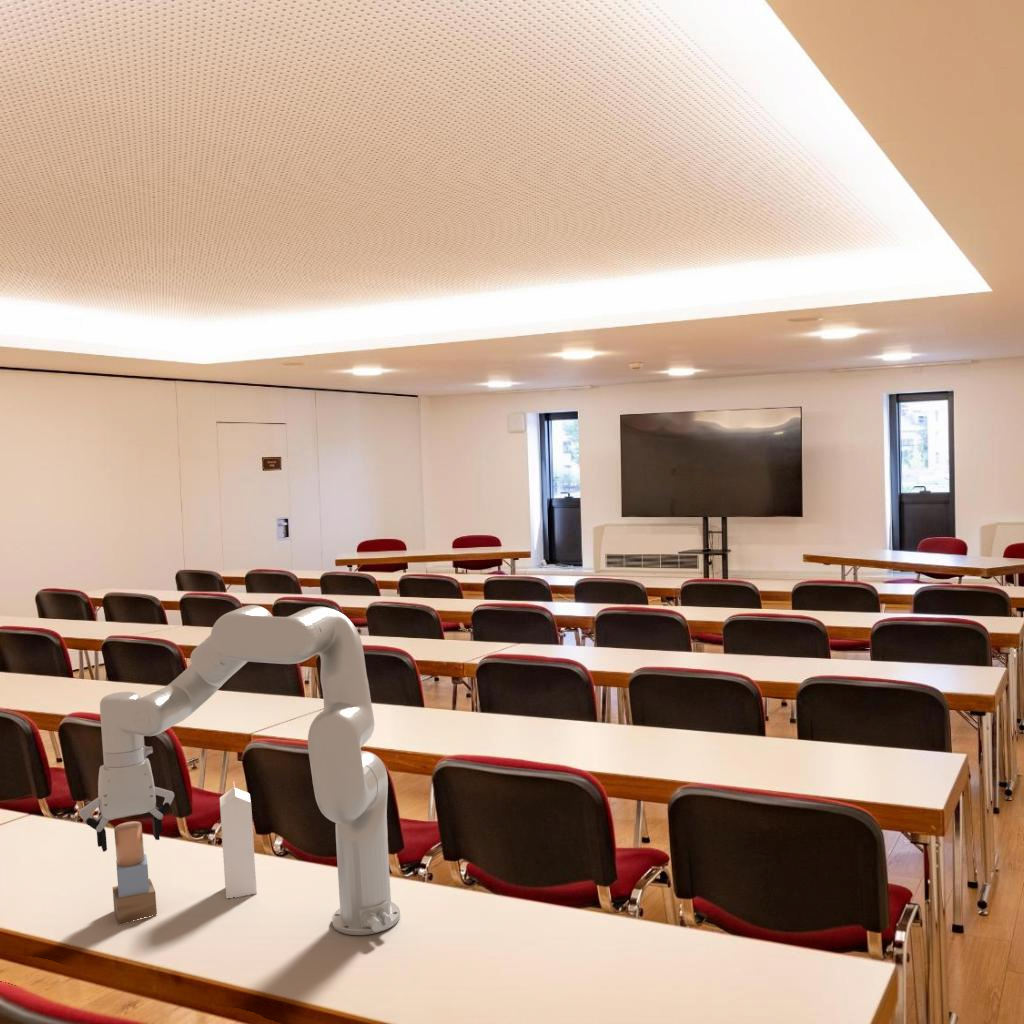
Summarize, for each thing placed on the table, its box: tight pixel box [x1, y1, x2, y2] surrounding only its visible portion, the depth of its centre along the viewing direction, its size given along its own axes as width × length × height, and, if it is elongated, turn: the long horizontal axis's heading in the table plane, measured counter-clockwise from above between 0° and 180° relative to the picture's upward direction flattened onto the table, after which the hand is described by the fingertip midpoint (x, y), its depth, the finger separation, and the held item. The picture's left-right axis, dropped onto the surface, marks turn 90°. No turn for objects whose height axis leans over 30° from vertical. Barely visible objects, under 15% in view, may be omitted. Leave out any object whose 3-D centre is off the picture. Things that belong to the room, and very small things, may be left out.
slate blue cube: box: [115, 853, 150, 898], centre depth 194 cm, size 6×6×6 cm
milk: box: [219, 780, 258, 900], centre depth 202 cm, size 6×6×22 cm
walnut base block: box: [112, 878, 158, 926], centre depth 194 cm, size 7×7×5 cm
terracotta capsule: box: [113, 821, 145, 867], centre depth 194 cm, size 5×5×7 cm
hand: (130, 843), depth 194 cm, fingers open, 9 cm apart
